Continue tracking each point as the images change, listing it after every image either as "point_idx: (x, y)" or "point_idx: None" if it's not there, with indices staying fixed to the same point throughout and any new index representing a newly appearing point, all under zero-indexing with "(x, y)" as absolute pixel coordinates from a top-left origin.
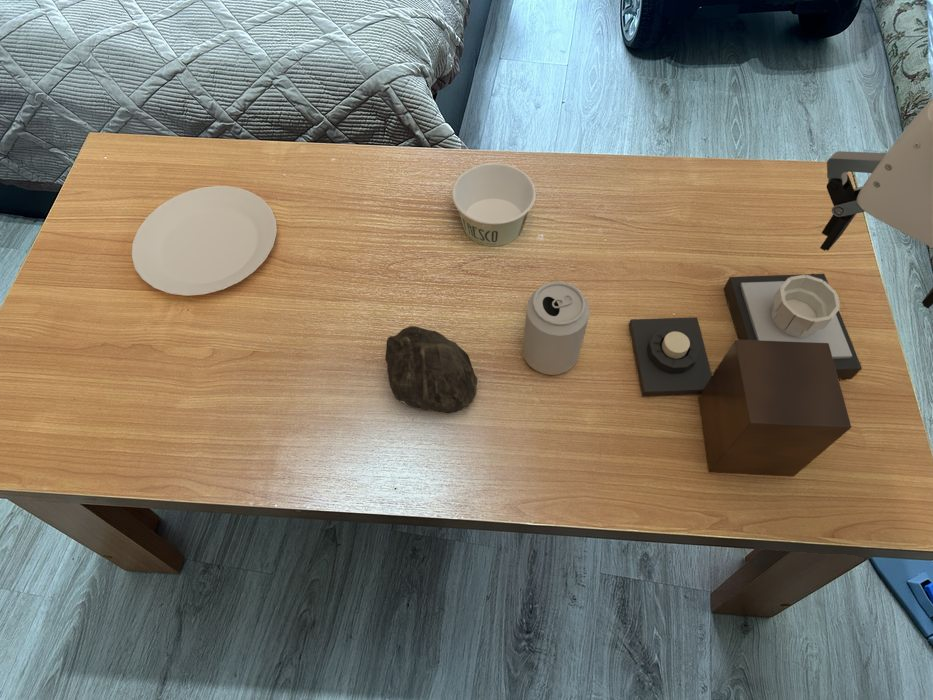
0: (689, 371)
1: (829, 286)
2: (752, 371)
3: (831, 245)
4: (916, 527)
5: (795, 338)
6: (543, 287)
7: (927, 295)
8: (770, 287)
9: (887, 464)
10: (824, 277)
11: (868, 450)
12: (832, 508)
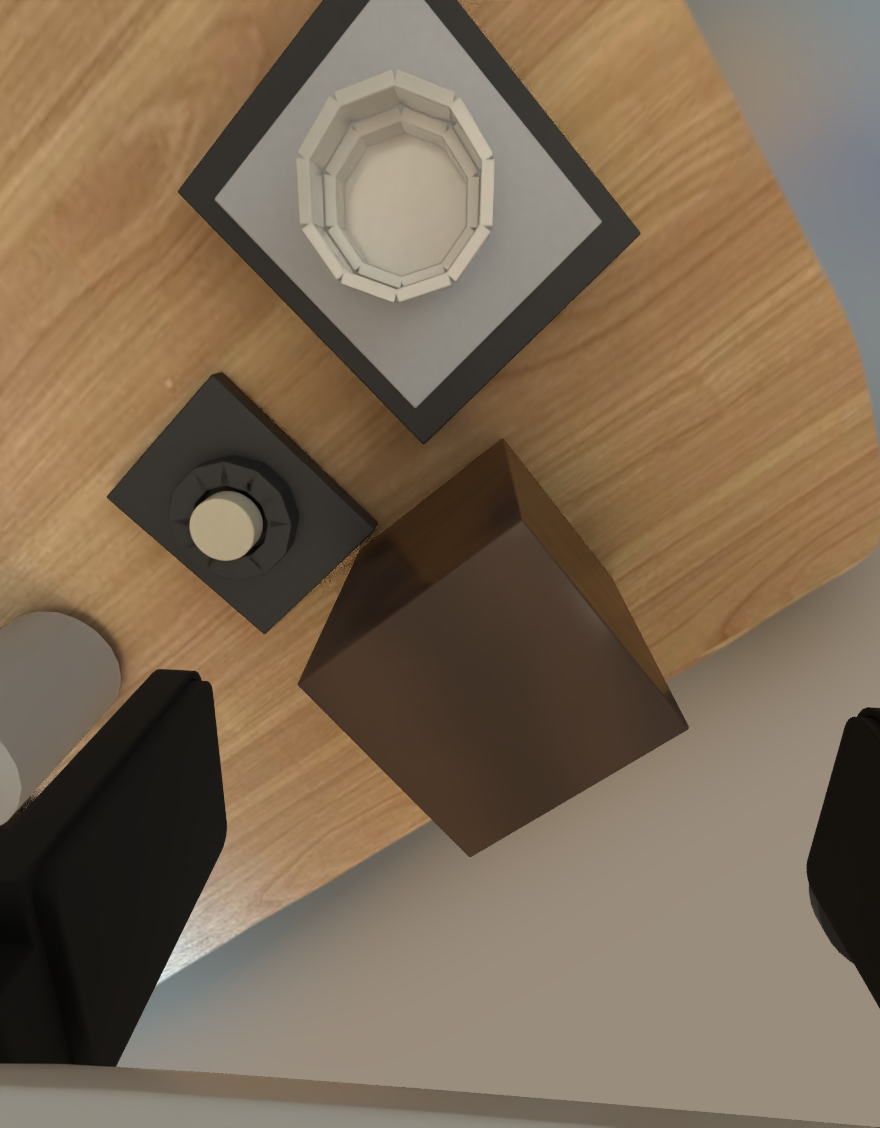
0: (301, 529)
1: (422, 83)
2: (394, 742)
3: (209, 857)
4: (872, 516)
5: None
6: None
7: (830, 854)
8: (288, 146)
9: (780, 418)
10: None
11: (730, 413)
12: (705, 589)
